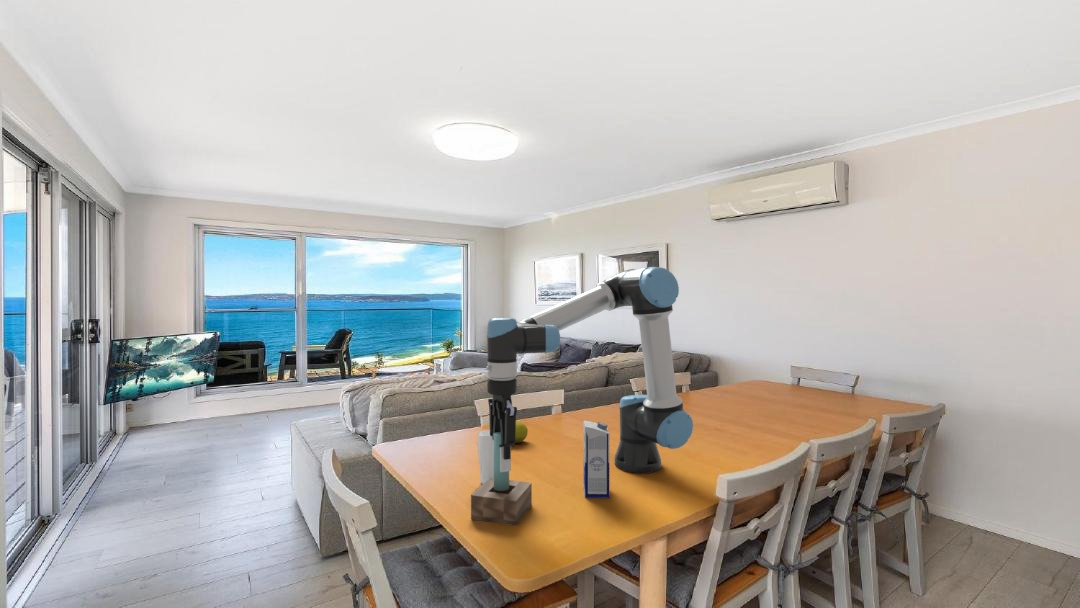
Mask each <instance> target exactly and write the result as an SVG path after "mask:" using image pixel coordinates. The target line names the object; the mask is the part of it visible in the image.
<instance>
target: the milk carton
mask: <svg viewBox="0 0 1080 608" xmlns="http://www.w3.org/2000/svg"><path fill="white" fill-rule="evenodd" d="M583 492H584V498H585V499H588V498H589V499H610V431H609V428H608V424H606V423H604V422H600V421H599V422H593V421H588V420H583Z"/></svg>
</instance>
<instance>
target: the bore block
mask: <svg viewBox="0 0 1080 608" xmlns="http://www.w3.org/2000/svg"><path fill="white" fill-rule="evenodd" d="M532 486H533V485H532V482H527V481H519V480H512V479H511V480H510V479H509V489H508V490H505V491H497V490H495V489H494V478H489V479H488V480H487V481H486V482H485V483H484V484H481V485H479V487H478V488H477V489H476V490H475V491H474V492H473V493H472V494H471V495H470V519H471V520H477V521H481V522H482V521H483V522H490V523H497V524H502V525H510V526H515V527H516V526H518V524H519V523H520V521H521V520H522V519H523V518H524V516H525V514H526V513H527V512H529V511H528V510H530V509H531V507H532V504H533V503H532V501H533V500H532V498H533V497H532V495H533V494H532V491H533V490H532V489H533V488H532Z"/></svg>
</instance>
